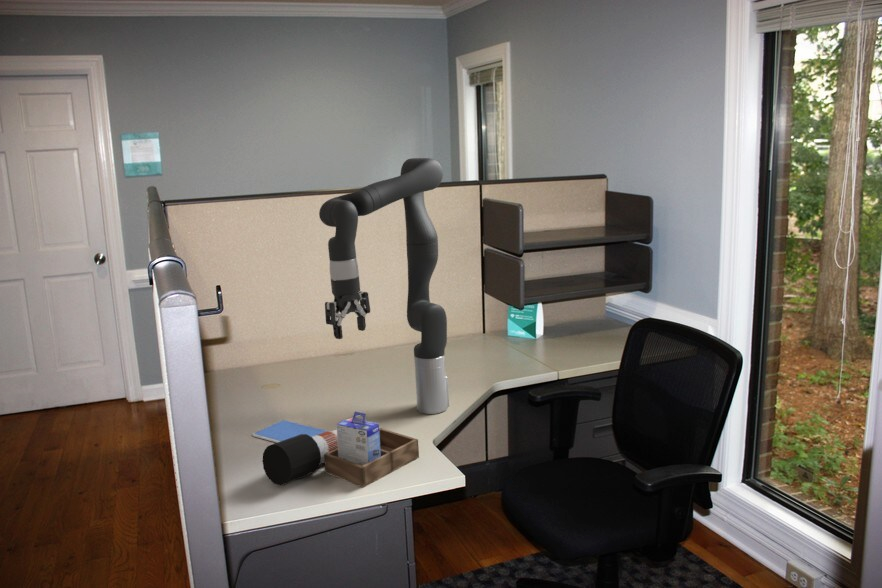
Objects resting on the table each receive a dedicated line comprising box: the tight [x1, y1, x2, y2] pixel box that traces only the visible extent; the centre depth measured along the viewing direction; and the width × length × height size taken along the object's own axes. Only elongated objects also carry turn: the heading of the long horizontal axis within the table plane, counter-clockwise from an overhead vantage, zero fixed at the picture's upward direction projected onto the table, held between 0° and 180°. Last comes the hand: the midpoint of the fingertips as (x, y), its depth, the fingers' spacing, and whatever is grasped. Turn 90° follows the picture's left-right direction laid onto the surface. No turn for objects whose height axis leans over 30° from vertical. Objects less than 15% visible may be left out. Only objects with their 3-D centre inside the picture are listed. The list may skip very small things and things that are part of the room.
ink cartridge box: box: [335, 411, 381, 466], centre depth 181 cm, size 10×6×14 cm, turn 59°
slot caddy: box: [324, 427, 420, 488], centre depth 185 cm, size 20×14×5 cm
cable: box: [261, 428, 338, 486], centre depth 189 cm, size 10×34×10 cm, turn 143°
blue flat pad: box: [252, 419, 328, 443], centre depth 208 cm, size 19×13×1 cm, turn 55°
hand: (350, 334), depth 196 cm, fingers open, 8 cm apart
